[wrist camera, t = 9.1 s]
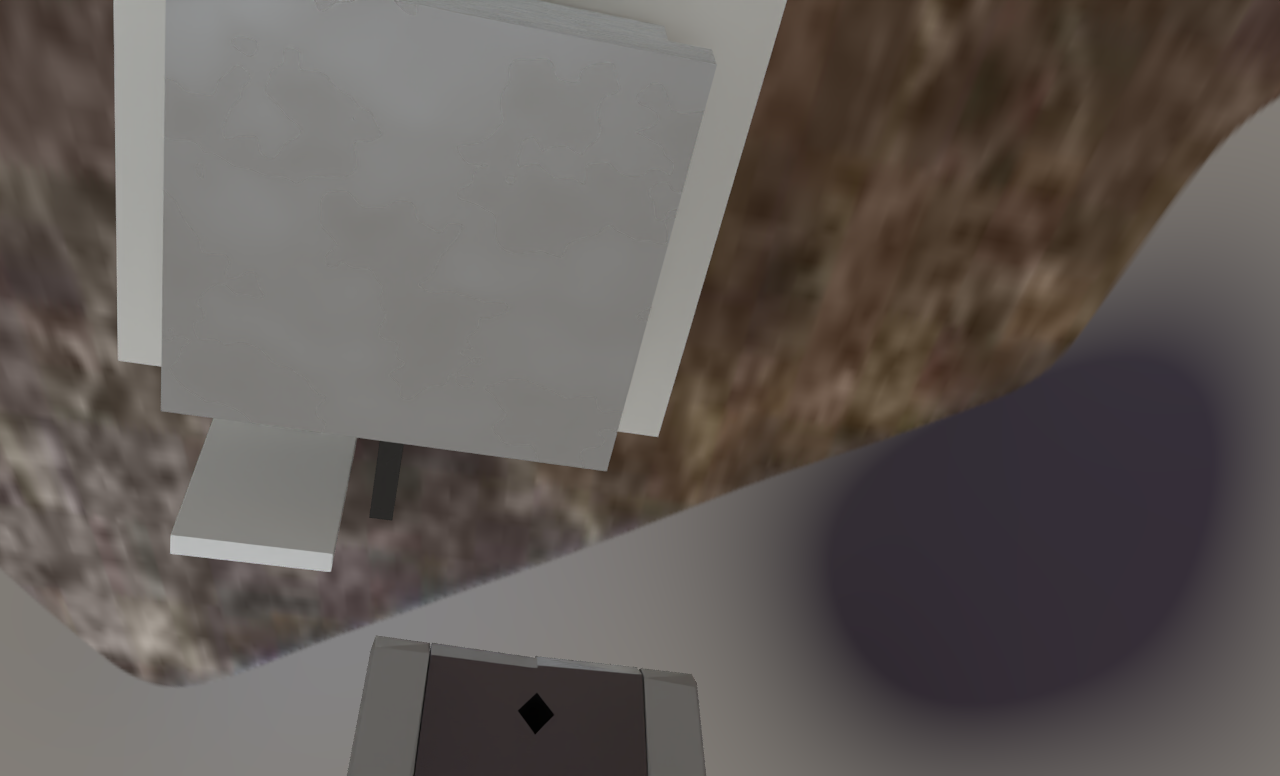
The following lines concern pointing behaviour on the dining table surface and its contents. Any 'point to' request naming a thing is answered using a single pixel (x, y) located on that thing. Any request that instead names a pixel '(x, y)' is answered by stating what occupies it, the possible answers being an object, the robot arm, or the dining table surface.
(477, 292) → the pan
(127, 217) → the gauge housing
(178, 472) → the dining table surface
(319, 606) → the dining table surface
